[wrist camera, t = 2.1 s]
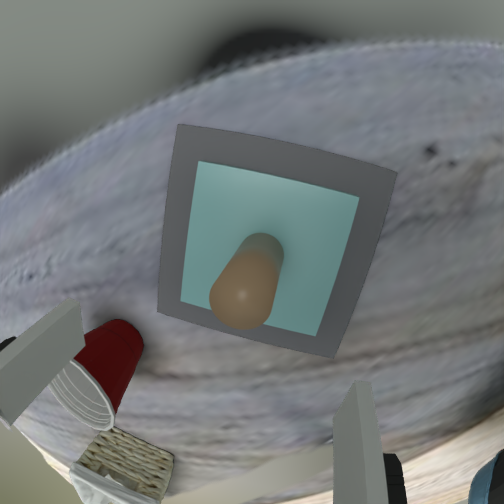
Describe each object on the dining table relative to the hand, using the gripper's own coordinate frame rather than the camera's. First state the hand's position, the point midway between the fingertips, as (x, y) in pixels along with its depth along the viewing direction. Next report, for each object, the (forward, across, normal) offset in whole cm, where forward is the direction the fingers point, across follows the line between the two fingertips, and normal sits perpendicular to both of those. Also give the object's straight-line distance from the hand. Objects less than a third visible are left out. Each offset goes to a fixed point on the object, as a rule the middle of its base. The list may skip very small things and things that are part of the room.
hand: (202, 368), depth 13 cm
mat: (+17, 0, 0) cm, 17 cm away
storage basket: (+17, +14, +51) cm, 56 cm away
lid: (+17, 0, 0) cm, 17 cm away
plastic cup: (+17, +14, +16) cm, 28 cm away
